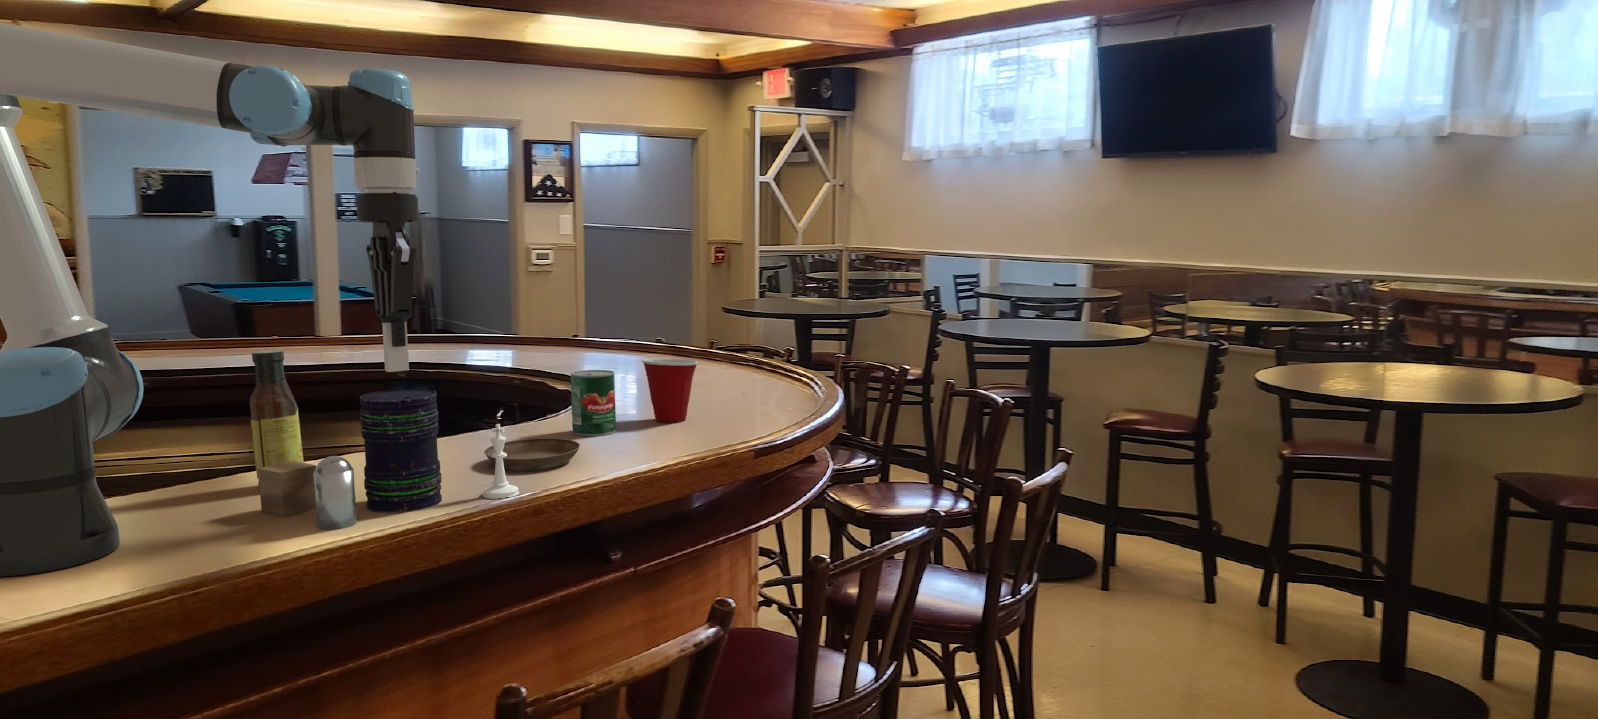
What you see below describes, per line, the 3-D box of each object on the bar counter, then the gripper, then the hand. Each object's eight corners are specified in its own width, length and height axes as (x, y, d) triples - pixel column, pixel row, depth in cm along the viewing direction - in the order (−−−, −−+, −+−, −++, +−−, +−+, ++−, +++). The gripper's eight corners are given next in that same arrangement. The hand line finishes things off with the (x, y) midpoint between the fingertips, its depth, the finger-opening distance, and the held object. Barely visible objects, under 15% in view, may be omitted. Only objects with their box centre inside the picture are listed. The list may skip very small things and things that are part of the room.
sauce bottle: (314, 482, 154) (305, 348, 151) (283, 493, 148) (273, 354, 145) (278, 480, 155) (268, 347, 153) (245, 490, 149) (234, 352, 147)
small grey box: (283, 518, 135) (280, 472, 134) (261, 512, 138) (258, 468, 137) (319, 509, 139) (316, 465, 139) (296, 504, 142) (293, 460, 141)
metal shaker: (322, 531, 129) (317, 462, 127) (312, 523, 132) (308, 455, 131) (361, 525, 131) (357, 456, 130) (350, 517, 135) (346, 450, 134)
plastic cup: (711, 419, 202) (710, 358, 200) (669, 427, 194) (668, 363, 192) (673, 413, 209) (672, 353, 207) (631, 420, 201) (629, 359, 199)
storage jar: (353, 503, 142) (346, 395, 140) (423, 490, 149) (417, 386, 147) (384, 517, 135) (377, 403, 133) (455, 502, 142) (450, 394, 140)
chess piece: (508, 499, 143) (505, 428, 142) (475, 498, 144) (472, 427, 143) (525, 490, 148) (522, 421, 147) (493, 489, 149) (490, 420, 148)
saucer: (509, 479, 156) (508, 461, 155) (470, 463, 167) (469, 446, 167) (597, 464, 165) (596, 448, 165) (554, 450, 176) (554, 434, 176)
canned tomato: (590, 426, 195) (588, 368, 194) (625, 430, 192) (623, 371, 190) (563, 434, 188) (561, 374, 187) (598, 438, 185) (596, 376, 183)
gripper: (432, 191, 134) (442, 373, 137) (400, 194, 144) (409, 363, 147) (372, 190, 129) (383, 378, 132) (342, 193, 139) (353, 368, 142)
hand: (397, 370), depth 139 cm, fingers closed
